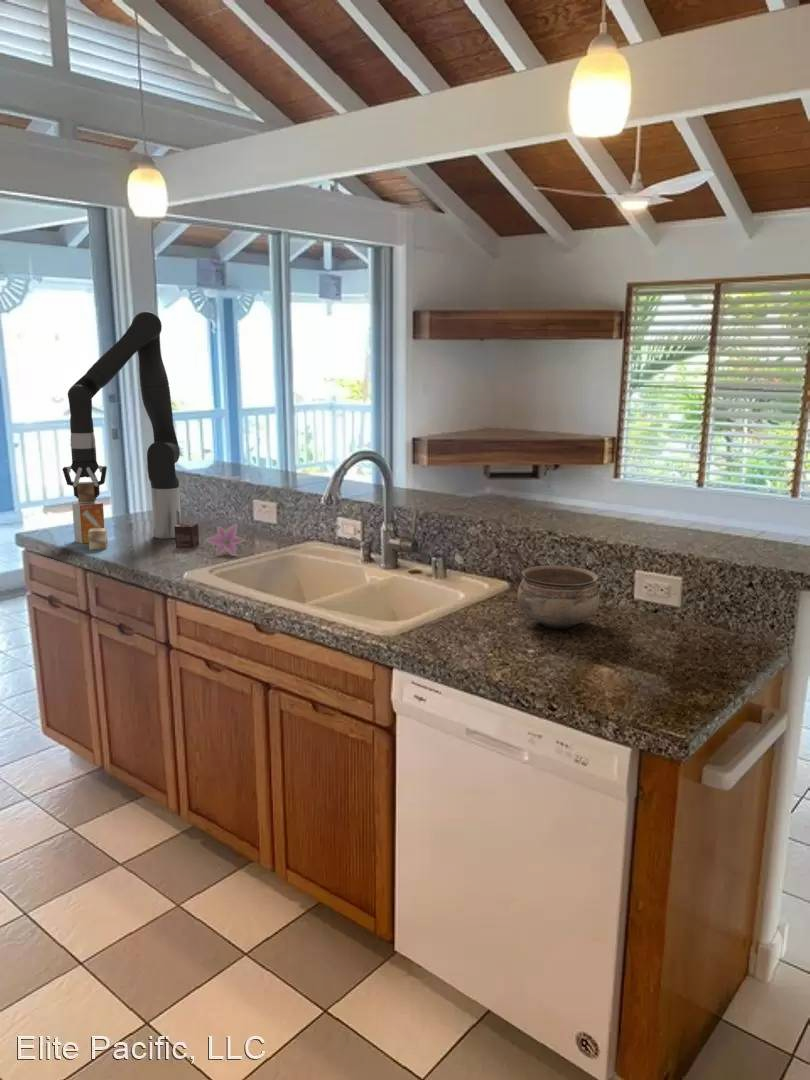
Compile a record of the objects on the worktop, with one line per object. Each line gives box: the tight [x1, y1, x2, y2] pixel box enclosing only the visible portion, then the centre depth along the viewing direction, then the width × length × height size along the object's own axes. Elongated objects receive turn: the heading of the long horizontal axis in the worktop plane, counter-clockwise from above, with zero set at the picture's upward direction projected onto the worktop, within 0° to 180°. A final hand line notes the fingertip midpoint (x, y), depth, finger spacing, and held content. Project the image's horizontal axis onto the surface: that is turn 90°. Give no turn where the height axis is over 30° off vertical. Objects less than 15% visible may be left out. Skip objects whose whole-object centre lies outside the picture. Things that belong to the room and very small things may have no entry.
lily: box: [205, 523, 246, 557], centre depth 256 cm, size 11×11×9 cm
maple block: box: [88, 527, 109, 551], centre depth 261 cm, size 5×5×6 cm
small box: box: [71, 500, 105, 545], centre depth 269 cm, size 8×6×13 cm
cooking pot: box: [517, 564, 601, 630], centre depth 188 cm, size 25×19×12 cm
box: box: [174, 522, 200, 549], centre depth 264 cm, size 6×6×7 cm
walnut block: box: [77, 481, 97, 503], centre depth 267 cm, size 5×5×6 cm
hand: (87, 497), depth 268 cm, fingers open, 5 cm apart
